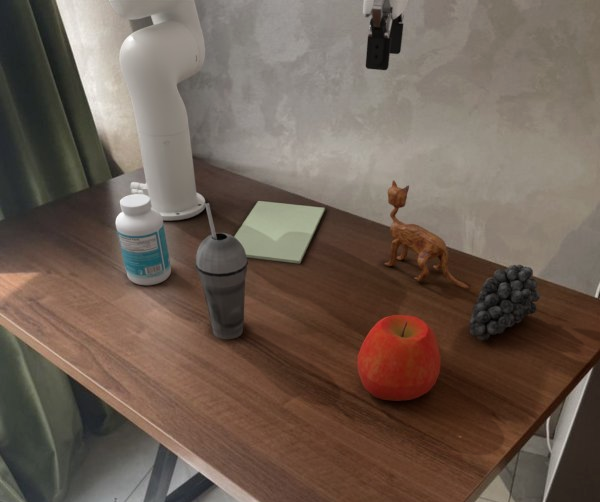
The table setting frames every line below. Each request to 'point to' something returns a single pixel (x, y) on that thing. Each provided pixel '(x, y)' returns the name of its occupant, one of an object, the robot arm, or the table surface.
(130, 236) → the pill bottle
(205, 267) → the beverage cup
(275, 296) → the table surface
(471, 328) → the fruit
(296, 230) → the mat
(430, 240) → the cat figurine
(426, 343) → the apple
